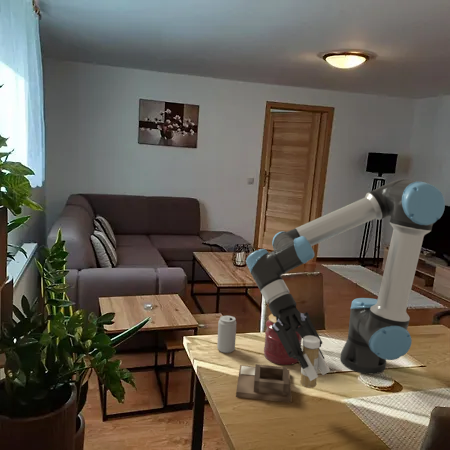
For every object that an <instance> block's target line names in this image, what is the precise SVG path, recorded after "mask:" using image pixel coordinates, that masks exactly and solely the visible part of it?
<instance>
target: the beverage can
mask: <svg viewBox="0 0 450 450" xmlns="http://www.w3.org/2000/svg"><path fill="white" fill-rule="evenodd" d="M217 322H218V324H217V325H218V326H217V345H216V348H217V350H218V351H220V352H221V353H222V354H230V353H232V352H233V351H235V349H236V339H237V338H236V334H237V321H236V317H235V316H232V315H222V316H220V317H219V320H218V321H217Z"/></svg>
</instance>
